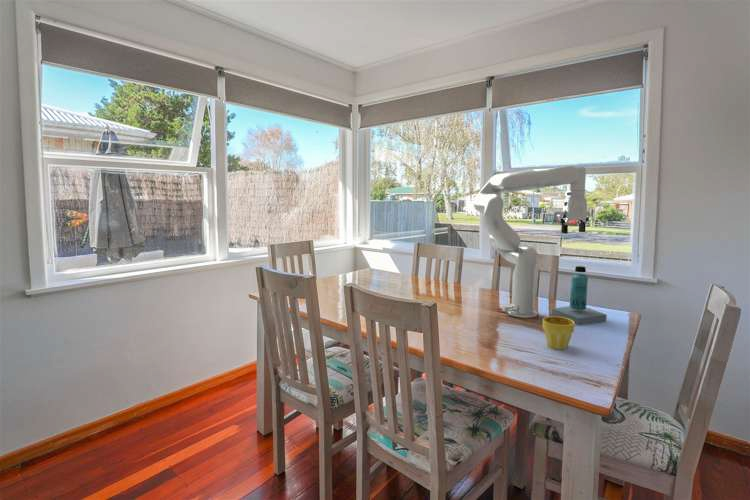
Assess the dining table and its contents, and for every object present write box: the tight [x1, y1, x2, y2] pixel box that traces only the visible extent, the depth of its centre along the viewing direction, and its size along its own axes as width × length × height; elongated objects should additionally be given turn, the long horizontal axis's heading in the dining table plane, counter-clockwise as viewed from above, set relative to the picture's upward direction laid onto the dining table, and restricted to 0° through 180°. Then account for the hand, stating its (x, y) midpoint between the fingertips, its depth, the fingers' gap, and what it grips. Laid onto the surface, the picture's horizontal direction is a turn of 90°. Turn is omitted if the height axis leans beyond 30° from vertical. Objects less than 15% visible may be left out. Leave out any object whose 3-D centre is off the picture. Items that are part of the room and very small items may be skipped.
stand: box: [551, 305, 608, 326], centre depth 175 cm, size 15×15×3 cm
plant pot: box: [542, 315, 576, 351], centre depth 144 cm, size 10×10×10 cm
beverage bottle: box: [569, 265, 589, 310], centre depth 173 cm, size 6×7×20 cm
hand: (573, 232), depth 181 cm, fingers open, 9 cm apart
